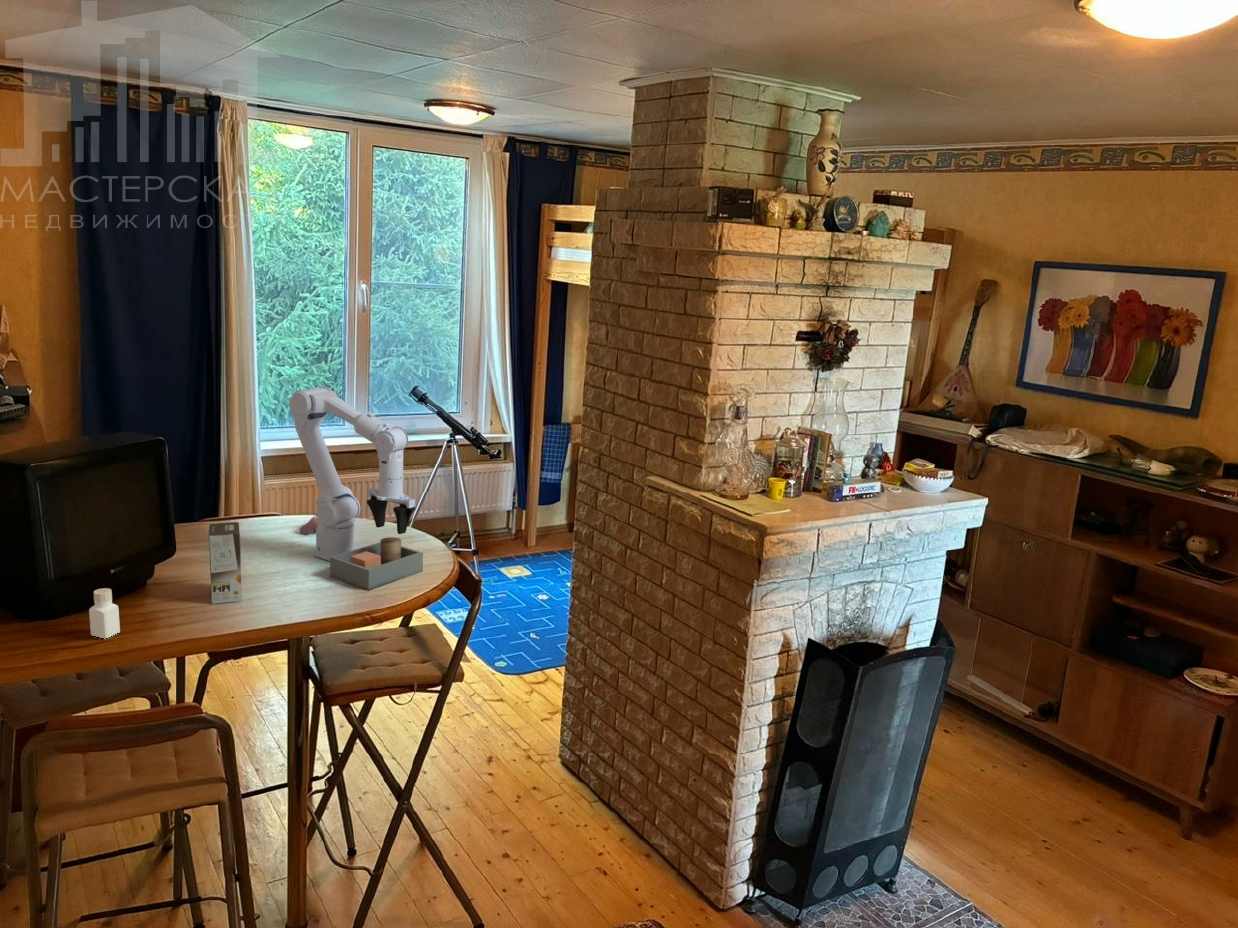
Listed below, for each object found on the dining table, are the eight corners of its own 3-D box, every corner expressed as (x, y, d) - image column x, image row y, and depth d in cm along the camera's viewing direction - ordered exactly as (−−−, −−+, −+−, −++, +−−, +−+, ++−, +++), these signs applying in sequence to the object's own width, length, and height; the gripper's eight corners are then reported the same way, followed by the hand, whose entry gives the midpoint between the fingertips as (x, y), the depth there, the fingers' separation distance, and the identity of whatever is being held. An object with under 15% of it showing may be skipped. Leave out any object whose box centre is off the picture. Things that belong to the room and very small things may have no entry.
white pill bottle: (105, 629, 190) (102, 586, 188) (121, 633, 189) (118, 589, 187) (89, 637, 187) (86, 592, 185) (105, 640, 186) (102, 595, 183)
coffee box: (242, 601, 209) (240, 533, 205) (211, 604, 206) (208, 535, 203) (241, 587, 217) (238, 521, 213) (211, 589, 214) (208, 522, 211)
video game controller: (311, 541, 256) (321, 521, 254) (297, 533, 256) (307, 512, 254) (328, 531, 265) (338, 511, 263) (314, 523, 265) (324, 503, 263)
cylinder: (375, 566, 233) (376, 540, 232) (391, 562, 237) (391, 536, 236) (389, 571, 231) (390, 544, 229) (404, 567, 235) (405, 540, 233)
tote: (330, 576, 227) (329, 557, 226) (384, 558, 241) (384, 540, 240) (368, 590, 220) (368, 570, 219) (422, 571, 234) (422, 552, 233)
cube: (350, 575, 227) (350, 556, 226) (366, 570, 231) (366, 551, 230) (364, 580, 224) (364, 560, 223) (380, 575, 228) (380, 555, 227)
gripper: (358, 474, 229) (358, 527, 232) (400, 485, 222) (399, 539, 225) (379, 469, 235) (379, 521, 238) (421, 480, 227) (420, 533, 231)
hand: (390, 529), depth 232 cm, fingers open, 7 cm apart
